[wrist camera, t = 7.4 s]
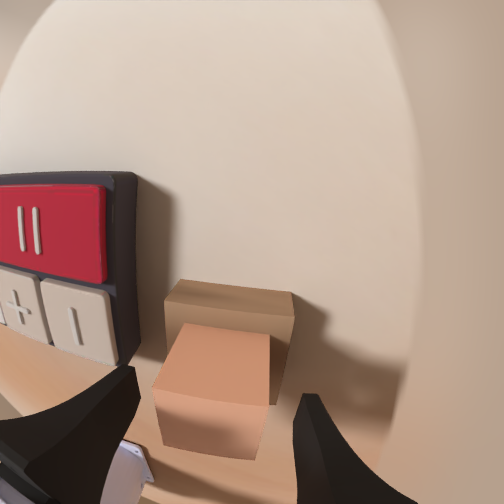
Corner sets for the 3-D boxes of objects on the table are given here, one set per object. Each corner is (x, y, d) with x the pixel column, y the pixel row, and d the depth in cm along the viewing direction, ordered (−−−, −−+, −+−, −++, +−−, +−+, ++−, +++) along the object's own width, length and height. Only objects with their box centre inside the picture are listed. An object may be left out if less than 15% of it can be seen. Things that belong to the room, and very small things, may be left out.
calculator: (124, 378, 13) (-22, 319, 13) (146, 338, 17) (7, 298, 17) (108, 174, 10) (-43, 182, 10) (145, 171, 14) (-6, 175, 14)
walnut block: (275, 372, 17) (275, 405, 14) (184, 360, 17) (171, 390, 14) (290, 289, 15) (294, 317, 12) (182, 276, 15) (163, 300, 12)
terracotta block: (258, 392, 14) (254, 460, 9) (186, 382, 14) (163, 444, 9) (269, 334, 12) (269, 406, 8) (184, 322, 12) (151, 387, 8)
